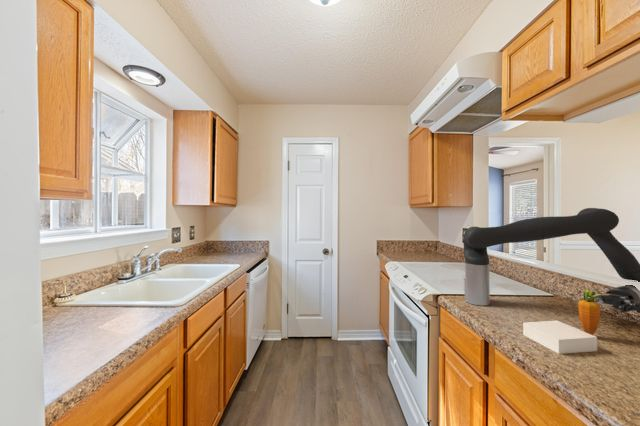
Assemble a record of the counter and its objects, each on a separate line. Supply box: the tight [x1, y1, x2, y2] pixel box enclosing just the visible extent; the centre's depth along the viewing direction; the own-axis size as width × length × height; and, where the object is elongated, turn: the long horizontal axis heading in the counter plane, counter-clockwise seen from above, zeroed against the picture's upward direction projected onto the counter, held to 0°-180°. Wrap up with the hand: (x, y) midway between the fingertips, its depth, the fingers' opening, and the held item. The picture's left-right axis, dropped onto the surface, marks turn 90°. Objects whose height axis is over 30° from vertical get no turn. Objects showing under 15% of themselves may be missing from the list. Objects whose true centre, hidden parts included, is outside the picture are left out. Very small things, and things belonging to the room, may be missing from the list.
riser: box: [522, 320, 598, 355], centre depth 84 cm, size 12×12×4 cm
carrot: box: [577, 289, 601, 336], centre depth 87 cm, size 5×5×15 cm
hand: (604, 305), depth 91 cm, fingers open, 8 cm apart
